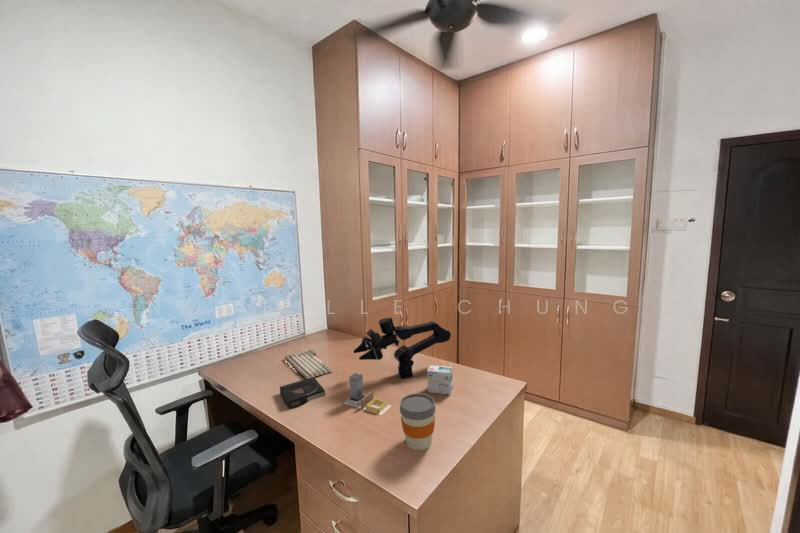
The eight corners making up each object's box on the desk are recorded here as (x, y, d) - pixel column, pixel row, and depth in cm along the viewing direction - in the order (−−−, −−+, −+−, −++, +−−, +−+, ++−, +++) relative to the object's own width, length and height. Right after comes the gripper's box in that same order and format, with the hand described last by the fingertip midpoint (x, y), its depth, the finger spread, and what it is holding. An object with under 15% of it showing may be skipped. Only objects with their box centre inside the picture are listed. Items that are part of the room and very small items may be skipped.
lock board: (392, 407, 137) (391, 396, 136) (381, 417, 130) (380, 405, 130) (355, 396, 147) (354, 386, 147) (343, 405, 141) (343, 394, 140)
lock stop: (363, 400, 142) (362, 374, 140) (358, 405, 138) (356, 378, 137) (356, 398, 144) (355, 373, 142) (351, 402, 141) (349, 376, 139)
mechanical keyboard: (338, 371, 176) (337, 365, 175) (304, 383, 164) (303, 377, 164) (311, 352, 206) (310, 347, 205) (281, 361, 194) (280, 356, 194)
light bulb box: (453, 388, 151) (452, 366, 150) (450, 395, 145) (450, 372, 143) (431, 385, 154) (430, 364, 153) (427, 392, 148) (426, 370, 147)
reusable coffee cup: (406, 428, 122) (405, 391, 121) (439, 433, 119) (438, 395, 117) (397, 450, 110) (394, 410, 109) (433, 456, 107) (431, 414, 105)
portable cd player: (289, 411, 139) (288, 402, 139) (280, 394, 154) (279, 386, 153) (325, 398, 148) (325, 390, 147) (314, 384, 162) (313, 376, 162)
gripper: (373, 322, 166) (345, 334, 161) (387, 331, 150) (356, 346, 144) (380, 340, 169) (352, 354, 163) (394, 352, 152) (364, 368, 146)
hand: (356, 355), depth 154 cm, fingers open, 9 cm apart
